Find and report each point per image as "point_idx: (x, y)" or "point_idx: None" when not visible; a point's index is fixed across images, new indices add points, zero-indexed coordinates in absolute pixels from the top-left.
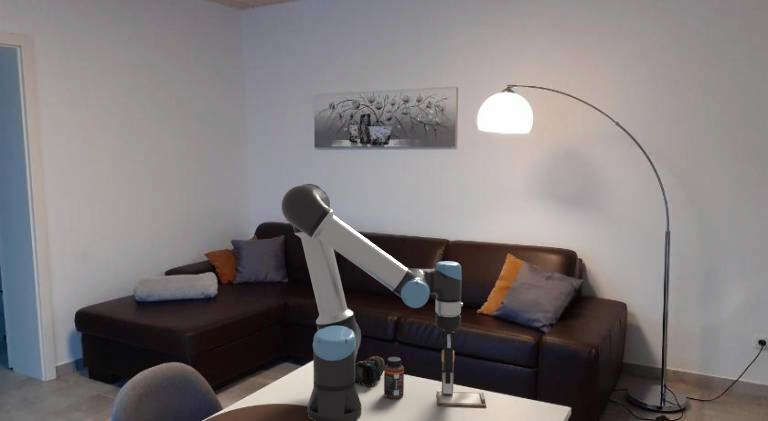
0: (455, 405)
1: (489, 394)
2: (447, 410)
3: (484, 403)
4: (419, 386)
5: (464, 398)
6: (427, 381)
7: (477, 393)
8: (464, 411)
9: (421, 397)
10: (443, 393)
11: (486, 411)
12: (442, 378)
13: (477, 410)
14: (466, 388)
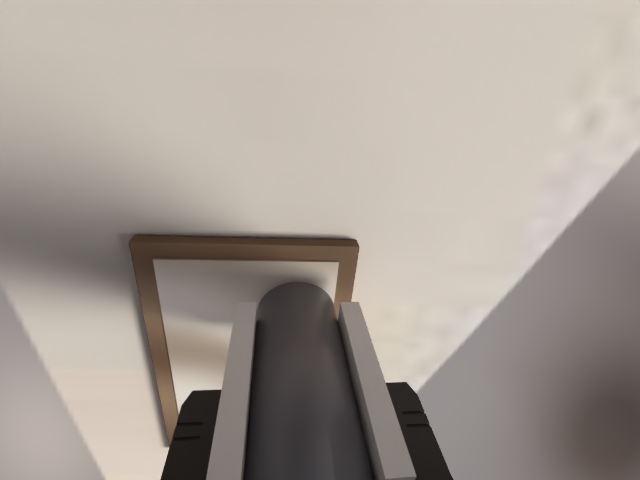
0: (151, 338)
1: None
2: (74, 291)
3: None
4: (504, 120)
5: None
6: (577, 189)
7: None
8: (92, 371)
9: (280, 122)
10: (268, 297)
11: (126, 448)
12: (284, 381)
13: (127, 419)
14: (414, 385)
